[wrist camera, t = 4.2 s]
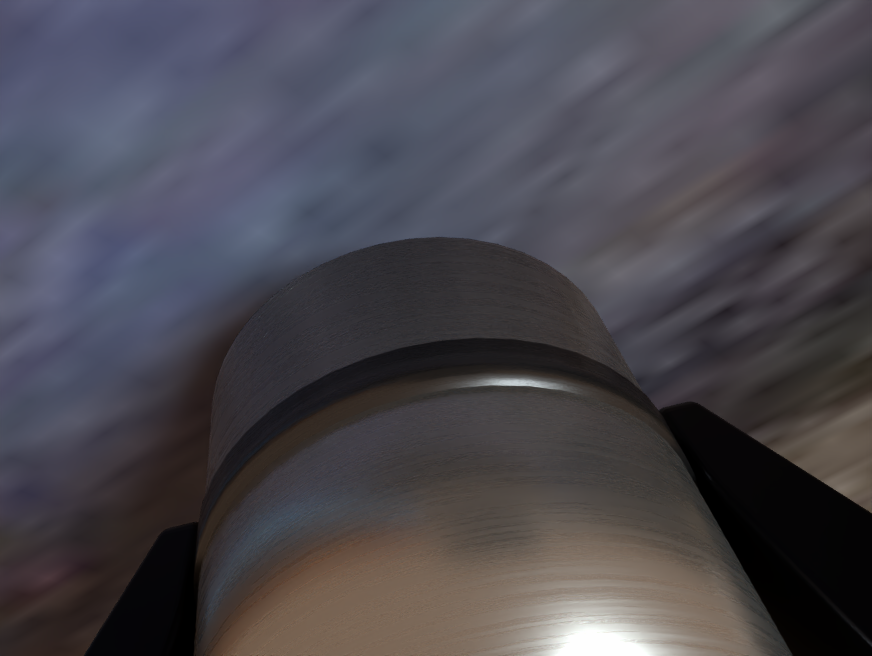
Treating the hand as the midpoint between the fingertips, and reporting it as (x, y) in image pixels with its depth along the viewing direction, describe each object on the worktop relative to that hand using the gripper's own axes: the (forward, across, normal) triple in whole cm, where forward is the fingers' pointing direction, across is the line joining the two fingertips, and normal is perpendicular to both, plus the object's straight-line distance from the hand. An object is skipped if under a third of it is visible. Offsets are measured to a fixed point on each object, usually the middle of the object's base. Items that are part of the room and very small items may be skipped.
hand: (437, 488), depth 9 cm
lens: (+1, 0, 0) cm, 1 cm away
